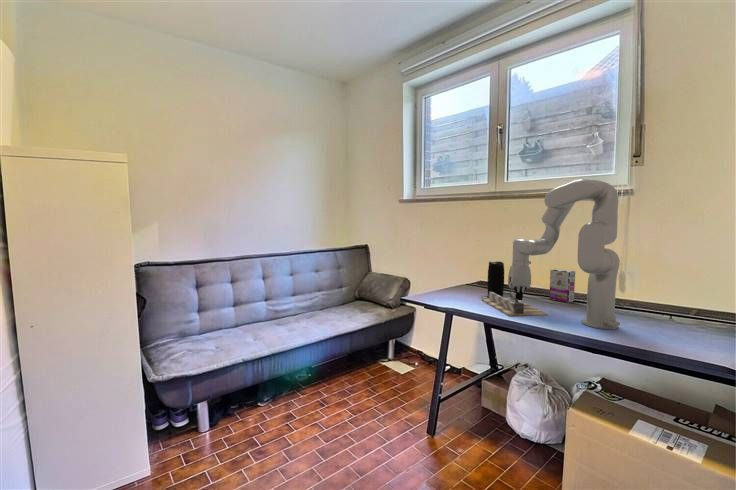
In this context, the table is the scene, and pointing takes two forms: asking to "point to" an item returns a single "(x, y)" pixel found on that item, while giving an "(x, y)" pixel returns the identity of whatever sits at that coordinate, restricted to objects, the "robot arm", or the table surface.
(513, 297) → the tongs arm
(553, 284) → the candy bar box
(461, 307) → the table surface
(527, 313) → the tongs board
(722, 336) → the table surface
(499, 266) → the portable speaker
